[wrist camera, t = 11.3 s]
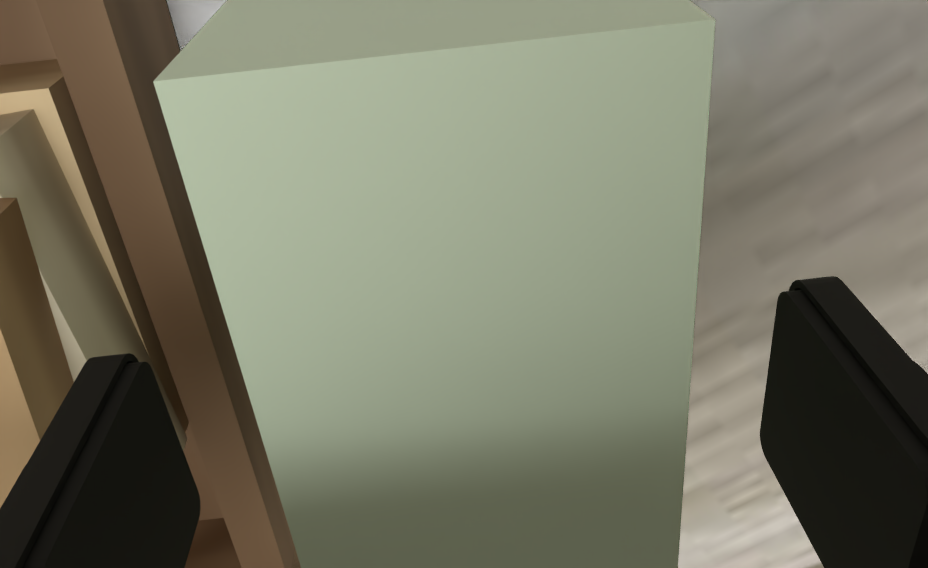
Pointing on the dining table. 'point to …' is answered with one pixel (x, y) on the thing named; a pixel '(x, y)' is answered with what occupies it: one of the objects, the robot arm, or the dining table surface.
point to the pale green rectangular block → (457, 266)
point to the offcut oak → (85, 191)
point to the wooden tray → (163, 256)
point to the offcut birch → (67, 252)
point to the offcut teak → (25, 350)
